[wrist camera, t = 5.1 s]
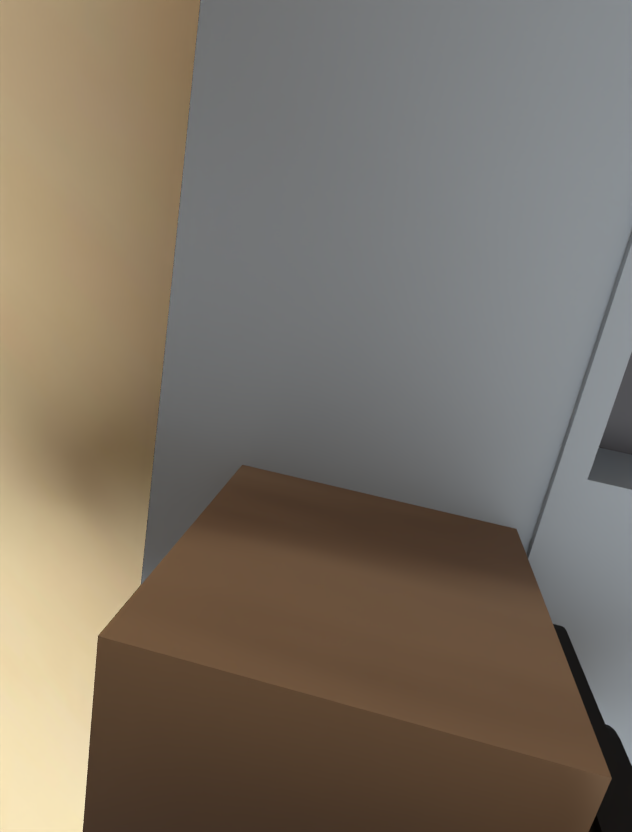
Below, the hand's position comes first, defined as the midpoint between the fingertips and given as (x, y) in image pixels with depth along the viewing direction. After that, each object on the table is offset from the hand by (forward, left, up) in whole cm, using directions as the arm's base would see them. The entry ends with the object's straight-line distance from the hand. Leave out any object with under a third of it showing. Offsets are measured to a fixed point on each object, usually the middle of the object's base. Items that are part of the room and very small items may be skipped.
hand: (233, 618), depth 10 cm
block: (0, +2, -1) cm, 2 cm away
